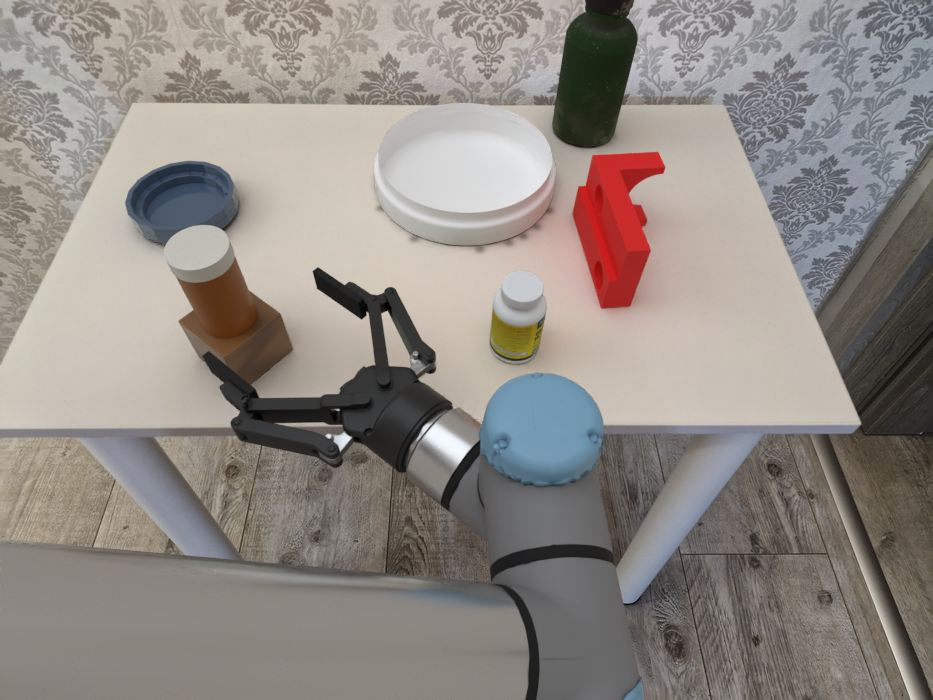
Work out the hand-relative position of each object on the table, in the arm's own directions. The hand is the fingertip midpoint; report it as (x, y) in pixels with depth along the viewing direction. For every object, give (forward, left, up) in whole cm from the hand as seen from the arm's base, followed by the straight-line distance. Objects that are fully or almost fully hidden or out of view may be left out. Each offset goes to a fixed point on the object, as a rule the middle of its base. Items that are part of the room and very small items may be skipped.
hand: (266, 317), depth 60 cm
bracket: (+47, +2, -14) cm, 49 cm away
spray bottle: (+58, +29, -14) cm, 67 cm away
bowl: (-5, +36, -14) cm, 39 cm away
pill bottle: (+26, -5, -14) cm, 30 cm away
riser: (-4, +8, -14) cm, 16 cm away
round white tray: (+34, +25, -14) cm, 45 cm away
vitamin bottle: (-4, +8, -7) cm, 11 cm away
